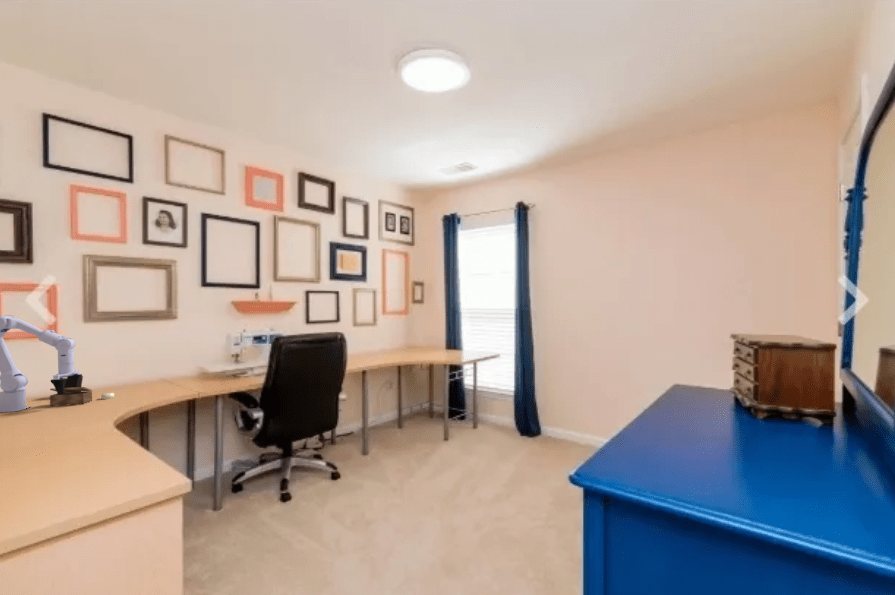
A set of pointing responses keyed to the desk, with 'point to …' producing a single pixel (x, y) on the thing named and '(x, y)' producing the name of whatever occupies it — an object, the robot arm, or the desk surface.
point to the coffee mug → (67, 384)
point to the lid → (74, 389)
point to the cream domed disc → (107, 396)
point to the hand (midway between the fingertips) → (67, 391)
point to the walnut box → (71, 398)
